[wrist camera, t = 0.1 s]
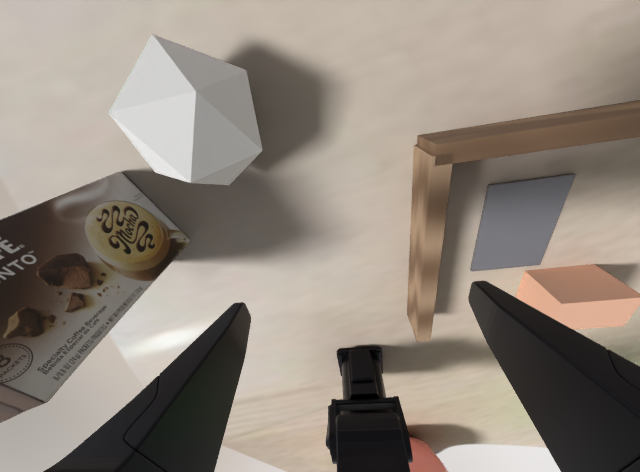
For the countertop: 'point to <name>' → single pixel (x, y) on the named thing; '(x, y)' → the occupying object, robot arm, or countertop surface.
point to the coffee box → (73, 281)
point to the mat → (519, 221)
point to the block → (579, 296)
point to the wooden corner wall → (477, 144)
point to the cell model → (424, 458)
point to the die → (189, 114)
